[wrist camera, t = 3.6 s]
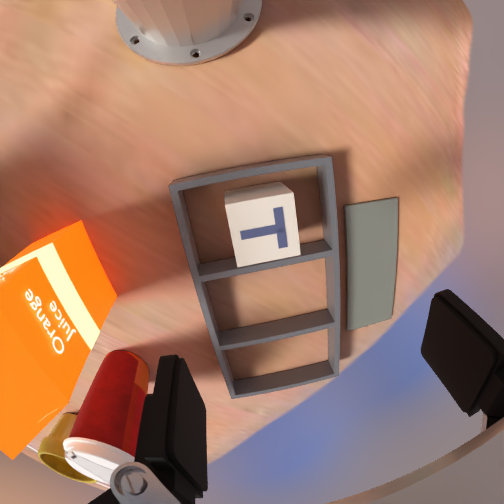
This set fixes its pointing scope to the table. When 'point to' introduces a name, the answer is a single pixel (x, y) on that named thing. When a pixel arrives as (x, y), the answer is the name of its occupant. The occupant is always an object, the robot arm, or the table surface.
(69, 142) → the table surface
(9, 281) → the orange juice
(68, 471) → the plant pot
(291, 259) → the sorting box
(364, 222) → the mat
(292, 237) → the letter cube
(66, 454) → the coffee cup
